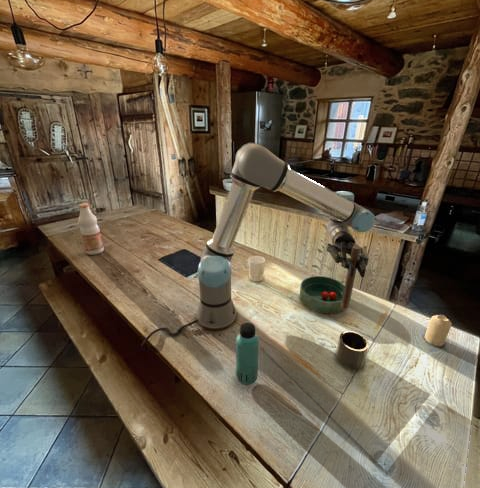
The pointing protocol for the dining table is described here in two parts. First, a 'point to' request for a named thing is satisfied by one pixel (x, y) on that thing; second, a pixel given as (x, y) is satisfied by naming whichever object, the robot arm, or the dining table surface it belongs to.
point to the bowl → (313, 294)
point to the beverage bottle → (247, 354)
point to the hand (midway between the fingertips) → (357, 272)
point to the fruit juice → (90, 230)
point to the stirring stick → (350, 277)
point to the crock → (352, 349)
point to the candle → (438, 330)
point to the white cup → (256, 268)
